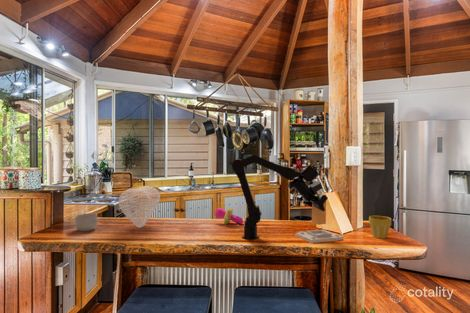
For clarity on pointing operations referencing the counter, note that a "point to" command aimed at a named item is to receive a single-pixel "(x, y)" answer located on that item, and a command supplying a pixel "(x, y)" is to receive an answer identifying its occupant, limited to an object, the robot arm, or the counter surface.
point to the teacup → (86, 221)
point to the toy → (227, 216)
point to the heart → (130, 216)
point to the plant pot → (379, 226)
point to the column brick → (318, 215)
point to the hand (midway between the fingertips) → (321, 209)
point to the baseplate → (318, 236)
